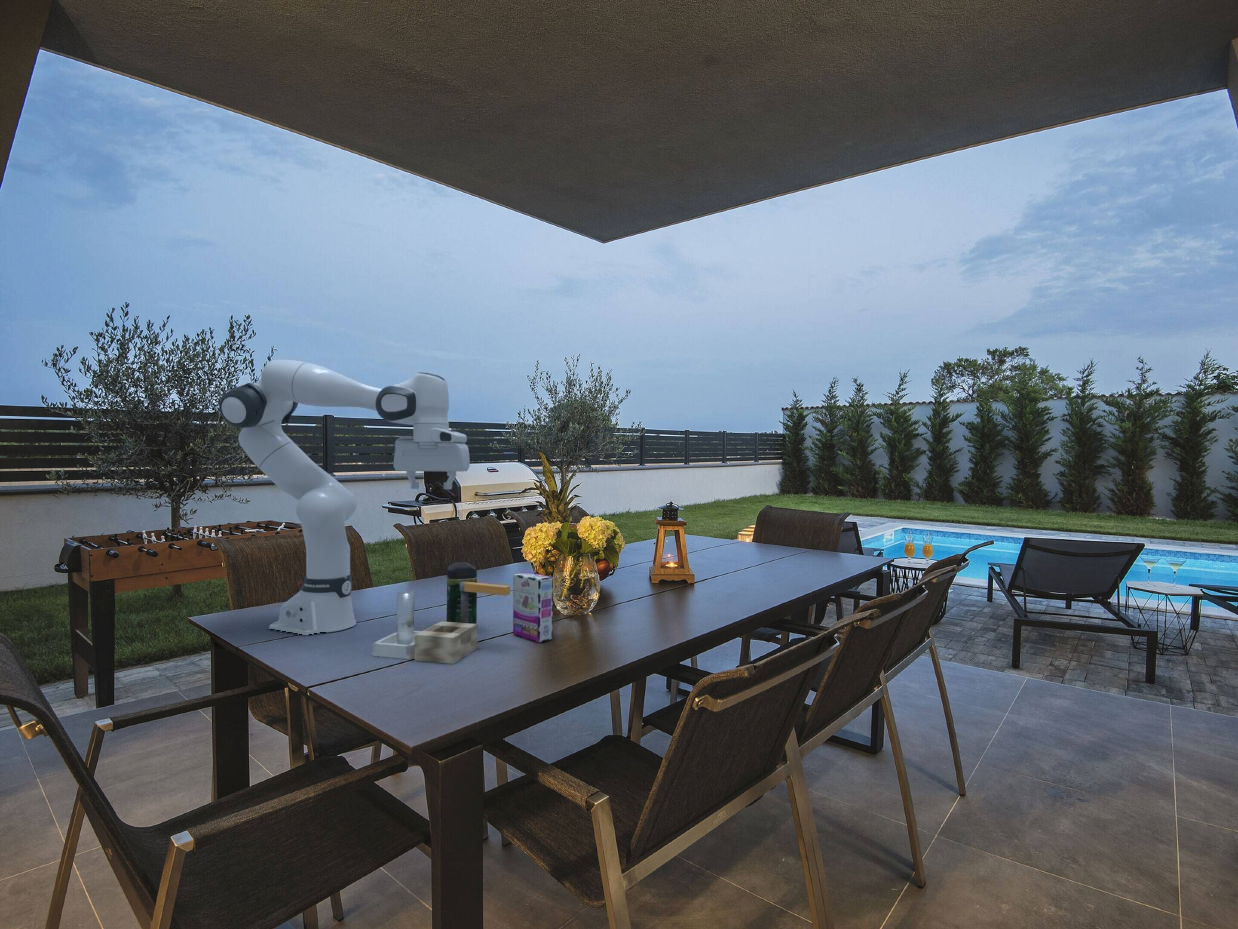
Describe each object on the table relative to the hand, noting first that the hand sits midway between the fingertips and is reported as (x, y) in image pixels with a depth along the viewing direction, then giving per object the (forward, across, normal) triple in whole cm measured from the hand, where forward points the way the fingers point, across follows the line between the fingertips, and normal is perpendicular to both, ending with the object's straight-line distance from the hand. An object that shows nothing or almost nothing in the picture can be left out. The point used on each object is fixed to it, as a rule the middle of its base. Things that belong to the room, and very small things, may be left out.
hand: (431, 489), depth 159 cm
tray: (+39, -2, -9) cm, 40 cm away
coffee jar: (+39, +4, +9) cm, 41 cm away
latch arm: (+26, +16, -2) cm, 30 cm away
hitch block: (+39, +10, -7) cm, 41 cm away
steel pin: (+38, -2, -9) cm, 39 cm away
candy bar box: (+39, +25, +8) cm, 47 cm away
